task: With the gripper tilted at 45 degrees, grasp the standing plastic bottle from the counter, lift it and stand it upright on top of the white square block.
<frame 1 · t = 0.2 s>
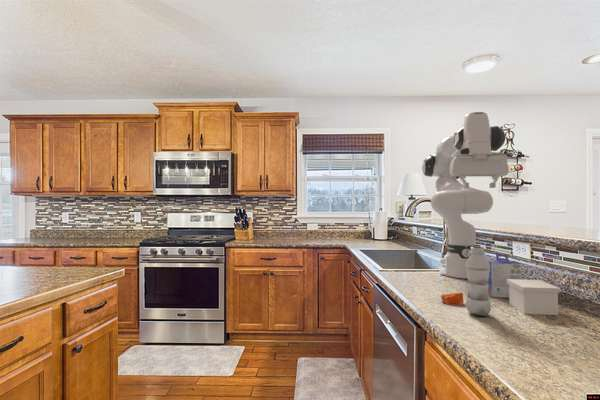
hand: (479, 187, 119), 39 cm above the countertop, tool pointing down, fingers open, 8 cm apart
white square block: (532, 309, 97), on the countertop
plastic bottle: (478, 315, 93), on the countertop
ink cartridge box: (504, 296, 111), on the countertop
rock: (452, 304, 104), on the countertop
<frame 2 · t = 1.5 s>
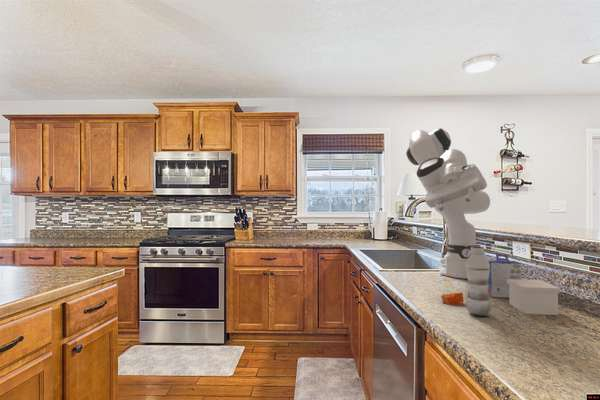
hand: (454, 205, 104), 33 cm above the countertop, tool tilted 50°, fingers open, 8 cm apart
nothing on the countertop moved.
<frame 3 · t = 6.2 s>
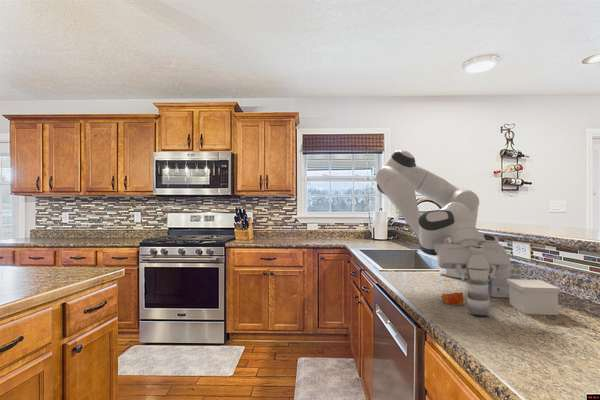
hand: (478, 279, 92), 10 cm above the countertop, tool tilted 45°, fingers closed on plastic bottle, 6 cm apart
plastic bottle: (478, 315, 93), on the countertop, touching gripper
everything else where it was.
when the fingers open (20 cm above the countertop, at t = 11.7 s): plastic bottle stays where it is, resting on white square block.
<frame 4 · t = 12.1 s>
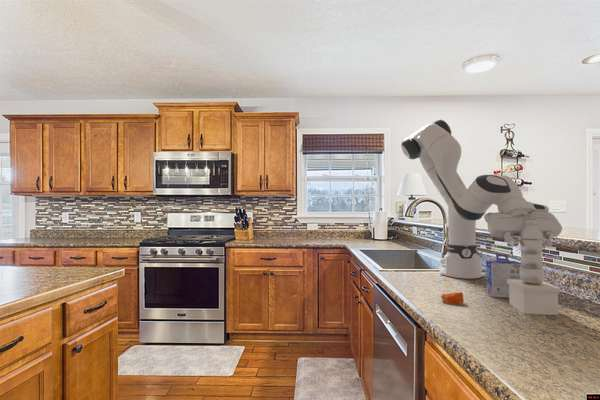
hand: (532, 245, 96), 20 cm above the countertop, tool tilted 45°, fingers open, 8 cm apart
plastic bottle: (531, 284, 97), point 8 cm above the countertop, touching white square block
everything else where it was.
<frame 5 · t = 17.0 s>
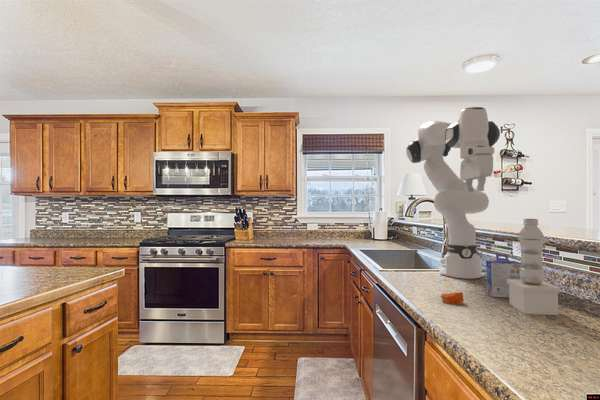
hand: (475, 191, 110), 37 cm above the countertop, tool pointing down, fingers open, 8 cm apart
nothing on the countertop moved.
at the end: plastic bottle inside the target area on the white square block (0.1 cm from its centre), point 7.8 cm above the white square block's base; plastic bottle tilted 0°; the gripper is holding nothing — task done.
